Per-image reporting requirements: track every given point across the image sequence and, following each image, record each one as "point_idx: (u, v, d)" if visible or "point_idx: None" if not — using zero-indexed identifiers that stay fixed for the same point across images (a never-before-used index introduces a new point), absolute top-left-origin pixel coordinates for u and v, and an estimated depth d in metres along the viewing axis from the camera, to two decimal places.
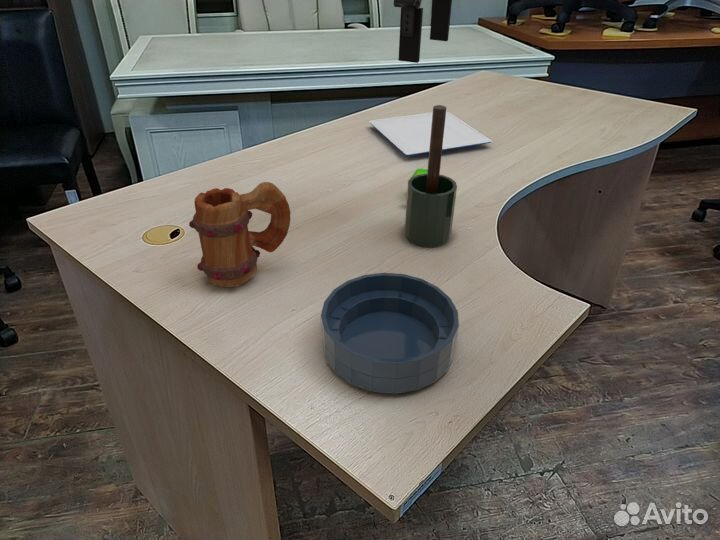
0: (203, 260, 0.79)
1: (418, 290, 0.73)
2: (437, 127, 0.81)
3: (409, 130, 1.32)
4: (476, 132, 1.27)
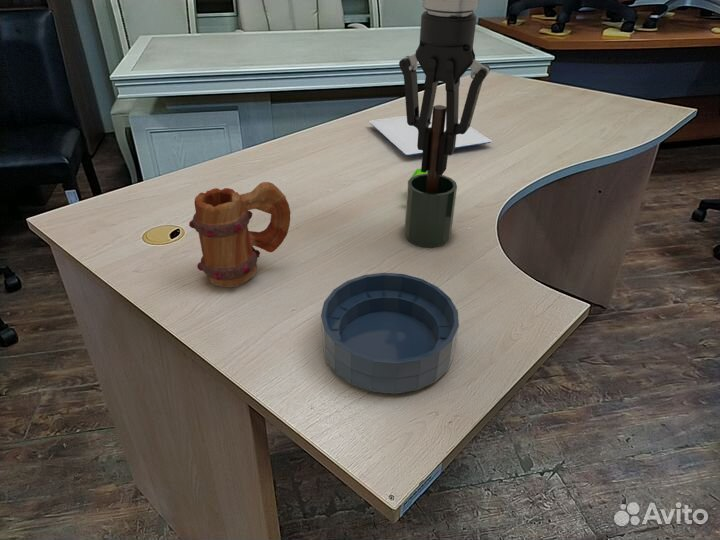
0: (203, 260, 0.79)
1: (418, 290, 0.73)
2: (437, 127, 0.81)
3: (409, 130, 1.32)
4: (476, 132, 1.27)
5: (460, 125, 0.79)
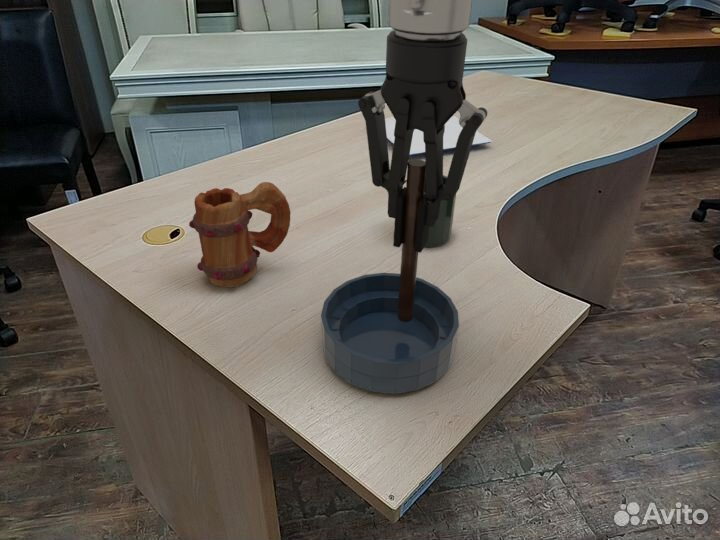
0: (203, 260, 0.79)
1: (418, 290, 0.73)
2: (414, 190, 0.58)
3: None
4: (476, 132, 1.27)
5: (445, 189, 0.56)
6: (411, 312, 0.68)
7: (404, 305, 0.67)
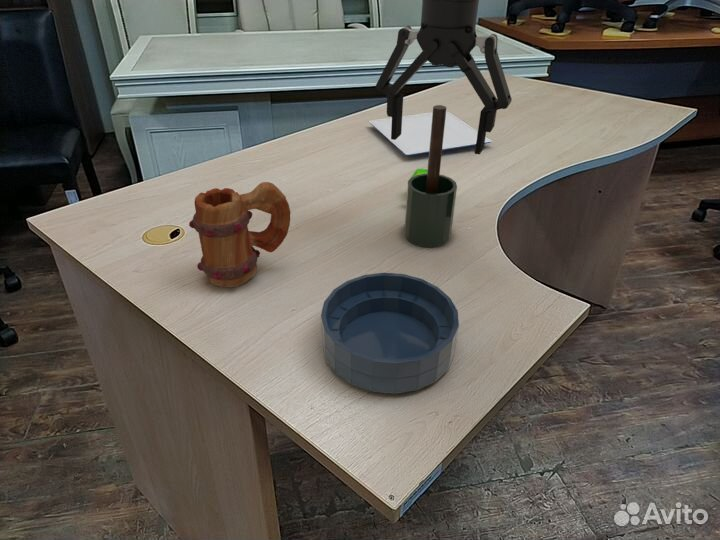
0: (203, 260, 0.79)
1: (418, 290, 0.73)
2: (437, 127, 0.81)
3: (409, 130, 1.32)
4: (476, 132, 1.27)
5: (499, 101, 0.74)
6: None
7: None
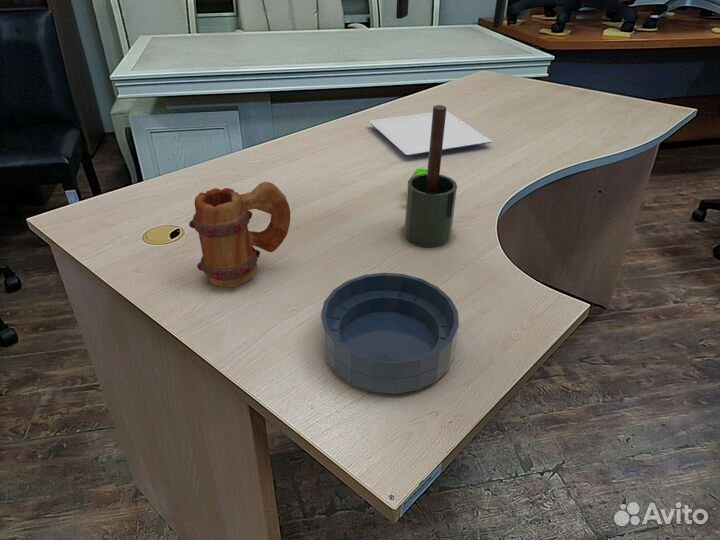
0: (203, 260, 0.79)
1: (418, 290, 0.73)
2: (437, 127, 0.81)
3: (409, 130, 1.32)
4: (476, 132, 1.27)
5: None
6: None
7: None
